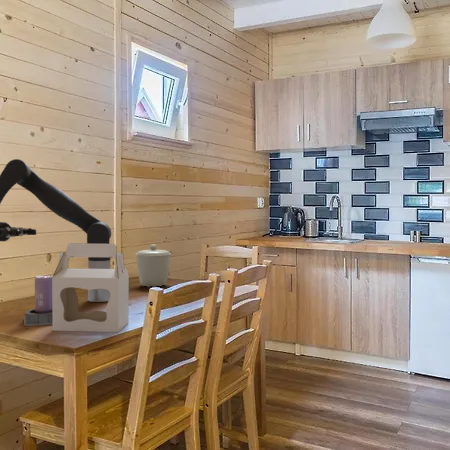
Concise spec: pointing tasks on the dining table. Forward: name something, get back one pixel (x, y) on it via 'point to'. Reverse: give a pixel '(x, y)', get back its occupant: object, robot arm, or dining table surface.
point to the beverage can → (43, 294)
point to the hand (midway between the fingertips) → (27, 232)
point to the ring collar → (37, 318)
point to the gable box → (90, 279)
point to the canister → (153, 266)
